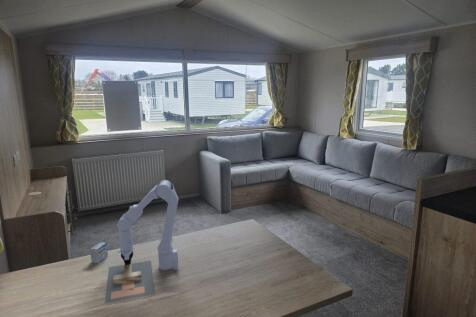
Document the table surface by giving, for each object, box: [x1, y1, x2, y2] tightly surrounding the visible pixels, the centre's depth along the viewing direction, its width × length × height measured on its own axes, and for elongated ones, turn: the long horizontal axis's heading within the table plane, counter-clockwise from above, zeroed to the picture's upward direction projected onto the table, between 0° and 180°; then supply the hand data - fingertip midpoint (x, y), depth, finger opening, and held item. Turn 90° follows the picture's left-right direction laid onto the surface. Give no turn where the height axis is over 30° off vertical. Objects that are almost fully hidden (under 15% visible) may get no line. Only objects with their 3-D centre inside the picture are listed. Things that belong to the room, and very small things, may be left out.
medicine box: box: [89, 241, 109, 264], centre depth 160 cm, size 8×4×9 cm, turn 168°
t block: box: [113, 263, 142, 285], centre depth 146 cm, size 12×12×2 cm
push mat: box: [104, 260, 156, 306], centre depth 143 cm, size 20×29×1 cm
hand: (128, 266), depth 152 cm, fingers closed
